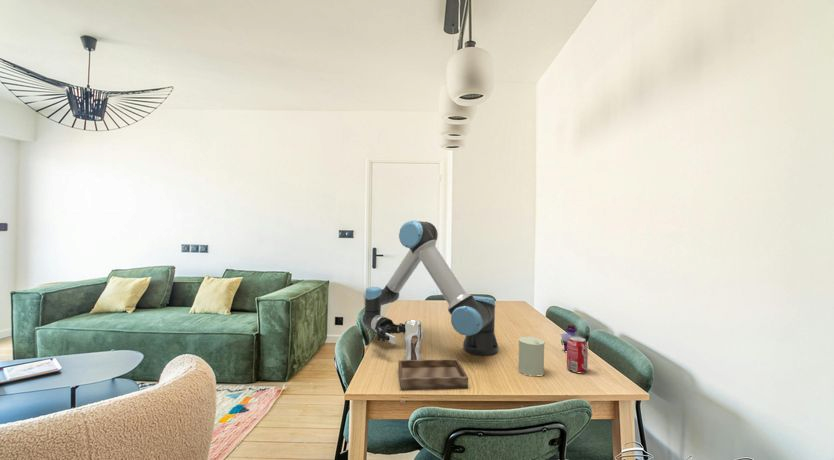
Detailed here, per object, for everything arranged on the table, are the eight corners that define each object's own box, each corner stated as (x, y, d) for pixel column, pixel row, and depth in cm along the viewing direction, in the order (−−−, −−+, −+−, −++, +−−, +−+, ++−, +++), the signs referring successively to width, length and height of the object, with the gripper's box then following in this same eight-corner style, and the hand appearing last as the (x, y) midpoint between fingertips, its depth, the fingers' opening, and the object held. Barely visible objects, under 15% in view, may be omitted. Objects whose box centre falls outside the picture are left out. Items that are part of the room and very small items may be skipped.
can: (531, 378, 117) (532, 344, 117) (512, 369, 125) (513, 337, 126) (549, 374, 121) (550, 341, 122) (530, 365, 130) (531, 334, 130)
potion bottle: (556, 348, 149) (557, 321, 149) (575, 348, 150) (576, 322, 150) (566, 355, 141) (566, 327, 141) (586, 355, 141) (586, 327, 141)
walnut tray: (457, 368, 125) (457, 359, 125) (467, 388, 109) (468, 377, 109) (398, 369, 122) (398, 360, 122) (400, 390, 106) (400, 379, 107)
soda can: (585, 368, 127) (586, 337, 128) (588, 375, 121) (589, 342, 121) (565, 365, 130) (566, 334, 130) (567, 372, 123) (568, 340, 123)
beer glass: (419, 364, 128) (420, 325, 128) (401, 362, 129) (402, 323, 129) (422, 357, 135) (423, 320, 135) (405, 356, 136) (406, 319, 136)
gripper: (405, 329, 158) (433, 341, 141) (357, 338, 143) (381, 353, 126) (405, 313, 158) (433, 324, 141) (357, 320, 144) (382, 333, 126)
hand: (409, 337), depth 134 cm, fingers open, 13 cm apart
